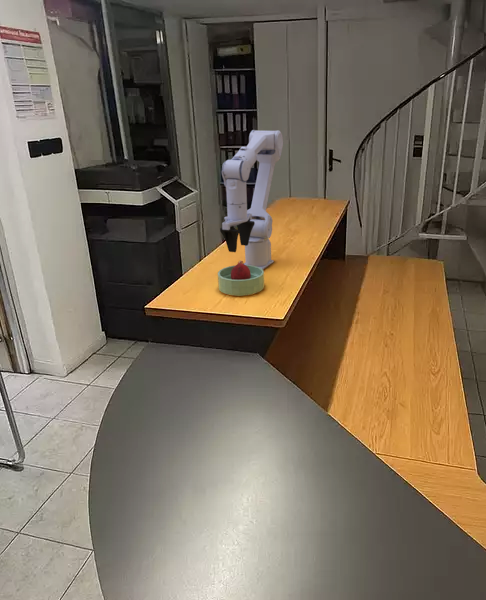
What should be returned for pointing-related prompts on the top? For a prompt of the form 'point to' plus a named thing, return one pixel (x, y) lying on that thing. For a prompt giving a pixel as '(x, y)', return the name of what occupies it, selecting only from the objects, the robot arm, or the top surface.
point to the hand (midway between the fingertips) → (238, 248)
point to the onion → (240, 272)
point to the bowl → (241, 282)
